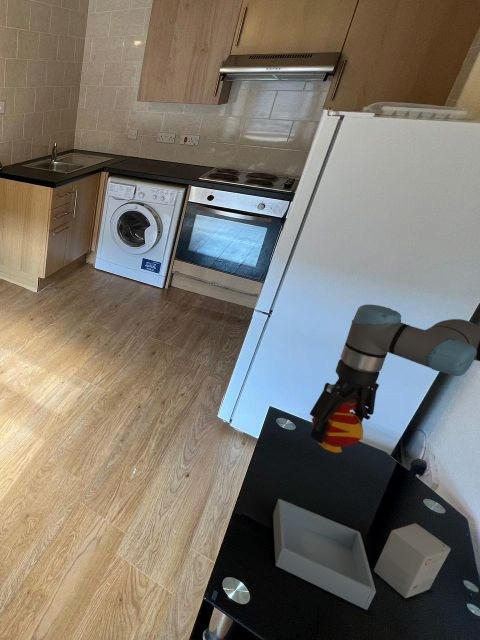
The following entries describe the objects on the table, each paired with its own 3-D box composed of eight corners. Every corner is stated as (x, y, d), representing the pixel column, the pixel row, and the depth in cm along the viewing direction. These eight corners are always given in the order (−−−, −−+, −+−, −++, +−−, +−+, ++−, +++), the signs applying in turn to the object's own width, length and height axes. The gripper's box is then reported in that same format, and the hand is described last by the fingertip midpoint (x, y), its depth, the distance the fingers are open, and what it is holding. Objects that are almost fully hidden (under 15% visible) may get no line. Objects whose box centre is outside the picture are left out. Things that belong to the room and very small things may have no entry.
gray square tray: (352, 549, 100) (360, 532, 98) (367, 610, 87) (376, 592, 86) (272, 514, 109) (278, 498, 107) (275, 565, 96) (281, 548, 94)
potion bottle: (317, 455, 105) (334, 407, 100) (297, 428, 114) (312, 383, 110) (366, 464, 102) (385, 415, 98) (341, 435, 112) (358, 389, 107)
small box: (396, 562, 97) (415, 522, 93) (430, 590, 92) (452, 548, 88) (371, 570, 96) (390, 529, 91) (405, 599, 90) (427, 557, 86)
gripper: (378, 353, 106) (352, 423, 113) (307, 360, 102) (284, 431, 109) (413, 369, 99) (382, 443, 106) (337, 377, 95) (311, 452, 102)
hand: (332, 437), depth 107 cm, fingers closed on potion bottle, 10 cm apart
